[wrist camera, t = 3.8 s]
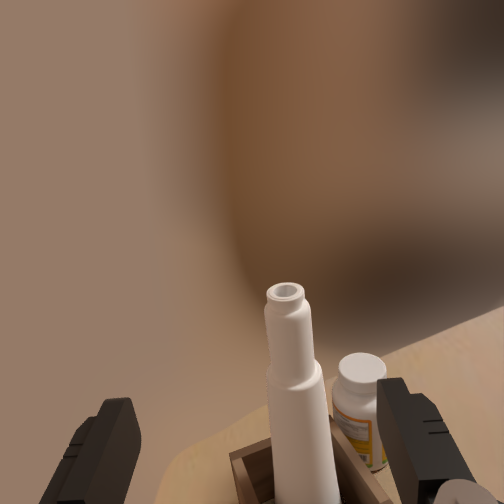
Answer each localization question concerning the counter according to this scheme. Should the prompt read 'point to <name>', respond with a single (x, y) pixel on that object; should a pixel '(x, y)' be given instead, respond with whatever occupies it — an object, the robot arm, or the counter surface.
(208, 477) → the counter surface
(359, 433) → the supplement bottle
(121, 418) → the robot arm
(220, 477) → the counter surface
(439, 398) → the counter surface
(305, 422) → the cosmetic bottle
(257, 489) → the holder
